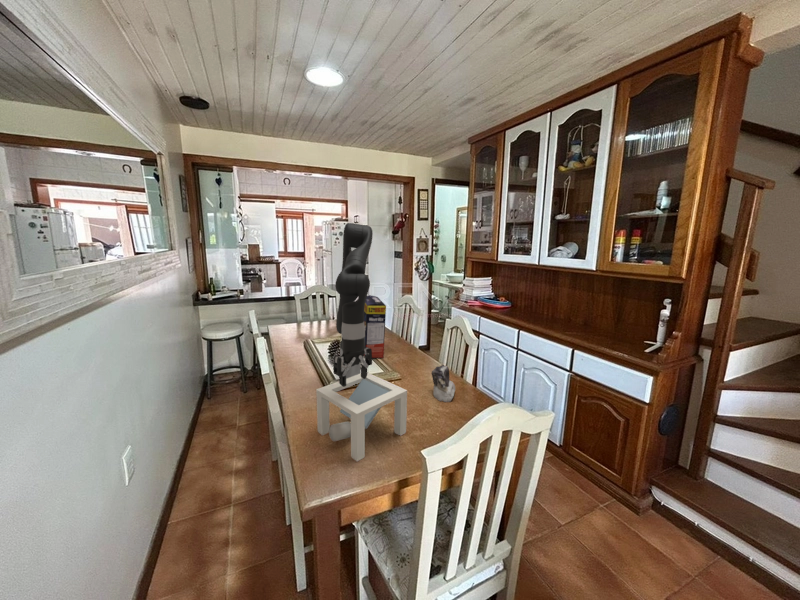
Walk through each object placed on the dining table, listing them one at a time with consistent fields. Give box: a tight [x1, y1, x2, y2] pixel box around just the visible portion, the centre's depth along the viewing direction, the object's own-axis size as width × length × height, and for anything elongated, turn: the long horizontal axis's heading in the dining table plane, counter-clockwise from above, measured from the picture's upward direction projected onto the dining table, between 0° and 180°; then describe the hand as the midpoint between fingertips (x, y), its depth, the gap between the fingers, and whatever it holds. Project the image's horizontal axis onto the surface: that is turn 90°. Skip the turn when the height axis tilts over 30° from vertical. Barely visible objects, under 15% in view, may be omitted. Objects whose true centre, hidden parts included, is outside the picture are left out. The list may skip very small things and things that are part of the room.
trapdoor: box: [339, 379, 389, 430], centre depth 116 cm, size 14×14×1 cm
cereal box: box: [363, 294, 387, 360], centre depth 195 cm, size 27×11×32 cm, turn 14°
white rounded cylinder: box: [328, 421, 351, 442], centre depth 110 cm, size 5×5×6 cm
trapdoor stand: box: [315, 371, 408, 462], centre depth 115 cm, size 22×22×16 cm
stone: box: [431, 364, 456, 403], centre depth 144 cm, size 14×10×15 cm
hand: (353, 381), depth 111 cm, fingers open, 8 cm apart
